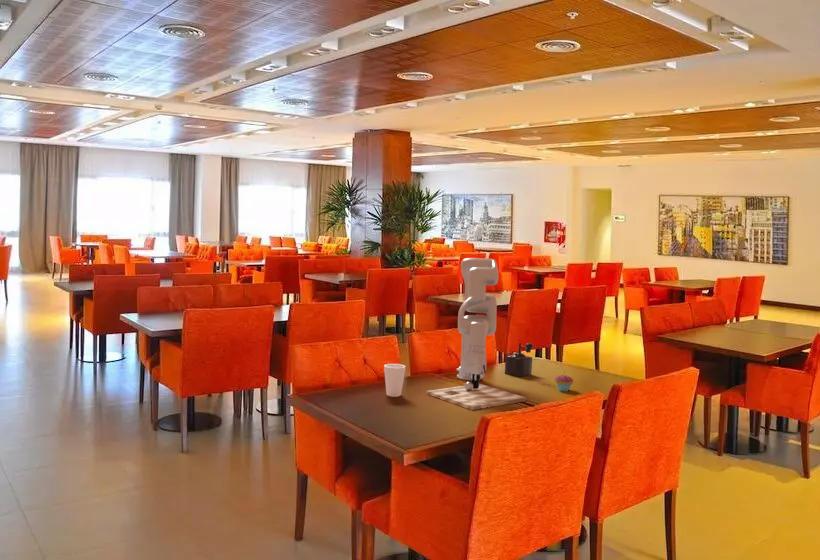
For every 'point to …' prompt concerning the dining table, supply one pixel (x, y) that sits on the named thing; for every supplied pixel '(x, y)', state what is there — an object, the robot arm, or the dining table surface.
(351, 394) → the dining table surface
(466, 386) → the steel ball
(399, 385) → the foam cup
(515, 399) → the maple board
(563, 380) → the cupcake
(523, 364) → the coffee grinder
